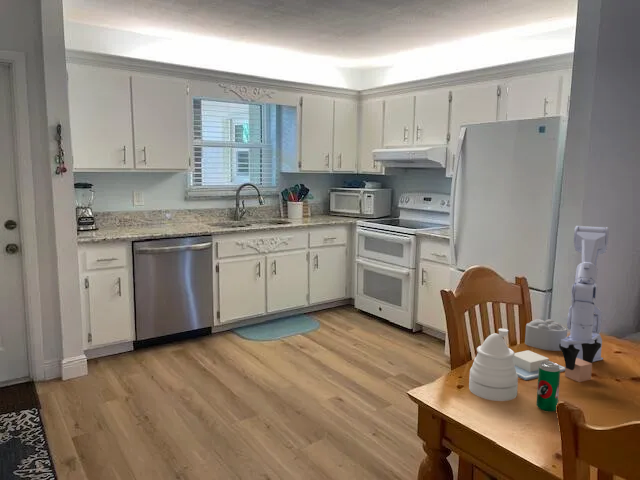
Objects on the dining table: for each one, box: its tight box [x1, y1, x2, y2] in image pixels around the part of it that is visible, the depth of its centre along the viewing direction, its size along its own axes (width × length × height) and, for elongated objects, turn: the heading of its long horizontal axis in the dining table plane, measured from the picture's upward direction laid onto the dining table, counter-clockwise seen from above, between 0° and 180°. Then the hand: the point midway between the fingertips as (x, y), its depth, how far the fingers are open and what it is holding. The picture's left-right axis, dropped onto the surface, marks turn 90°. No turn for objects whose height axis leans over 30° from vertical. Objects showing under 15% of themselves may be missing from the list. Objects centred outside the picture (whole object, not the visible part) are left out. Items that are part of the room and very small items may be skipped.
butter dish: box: [512, 349, 565, 381], centre depth 155 cm, size 18×14×4 cm
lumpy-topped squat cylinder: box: [524, 318, 568, 352], centre depth 175 cm, size 10×13×9 cm
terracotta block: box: [564, 358, 593, 383], centre depth 147 cm, size 5×5×5 cm
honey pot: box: [468, 328, 519, 402], centre depth 137 cm, size 13×13×18 cm
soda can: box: [535, 361, 561, 413], centre depth 127 cm, size 5×5×12 cm
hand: (578, 366), depth 147 cm, fingers open, 7 cm apart
